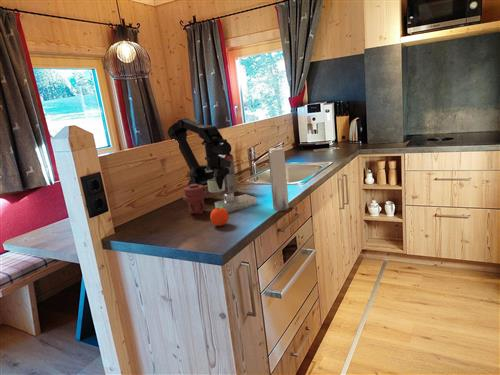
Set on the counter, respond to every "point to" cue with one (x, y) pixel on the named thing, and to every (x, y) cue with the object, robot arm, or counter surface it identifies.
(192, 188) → the mechanical component
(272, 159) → the tall grey block
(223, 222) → the clementine
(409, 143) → the counter surface
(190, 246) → the counter surface
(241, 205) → the beige rectangular block
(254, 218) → the counter surface
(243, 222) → the counter surface
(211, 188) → the collar
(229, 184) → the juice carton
